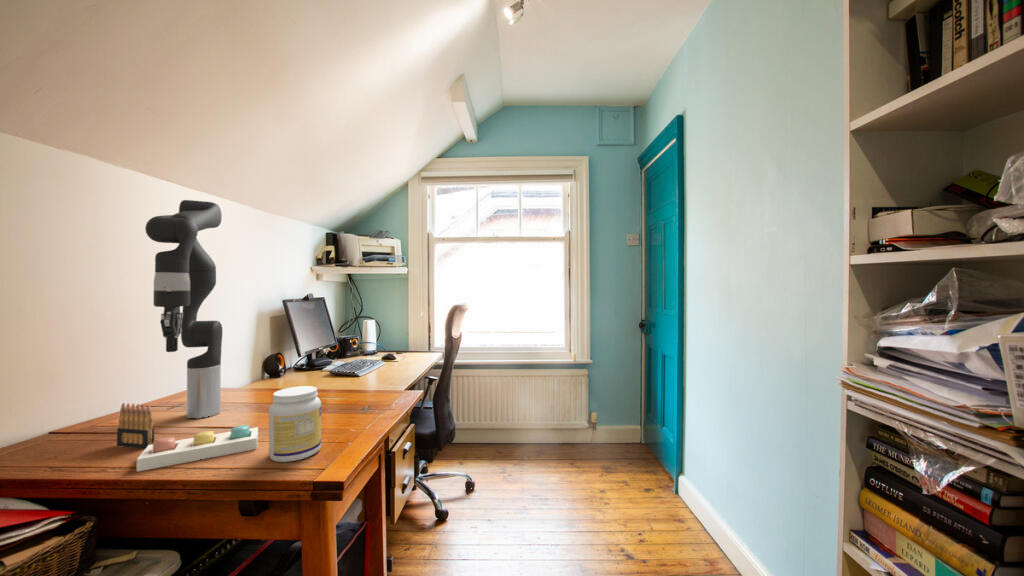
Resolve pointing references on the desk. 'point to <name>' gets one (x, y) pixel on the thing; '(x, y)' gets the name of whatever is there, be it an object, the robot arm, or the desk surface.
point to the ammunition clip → (135, 426)
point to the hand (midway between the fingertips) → (171, 351)
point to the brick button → (164, 444)
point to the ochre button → (204, 438)
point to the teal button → (240, 432)
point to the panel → (196, 450)
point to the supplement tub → (294, 424)
